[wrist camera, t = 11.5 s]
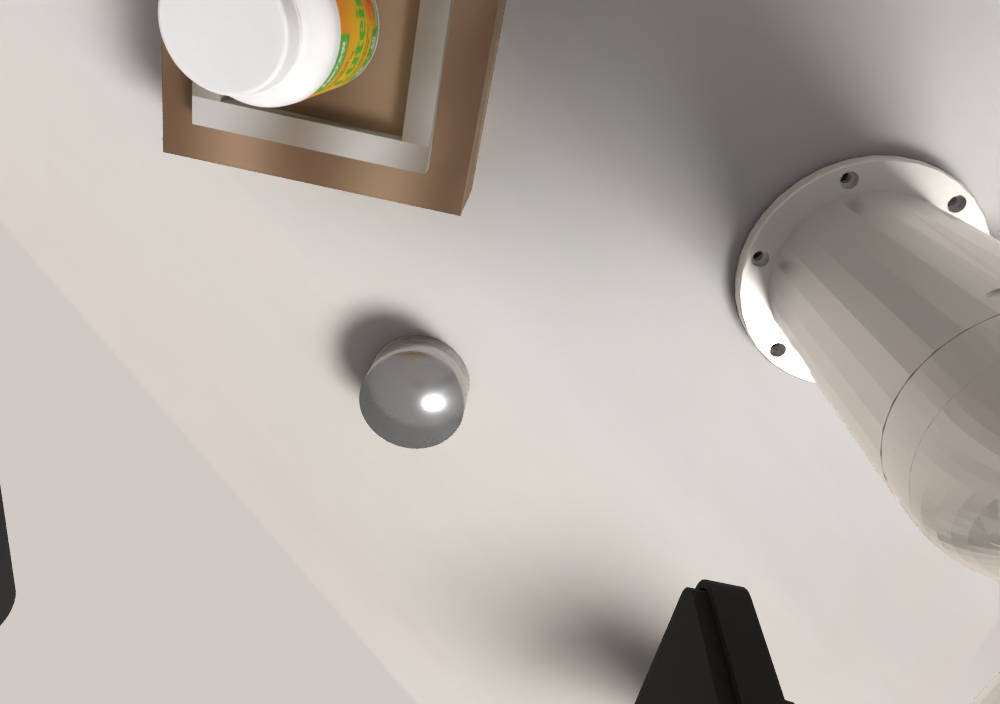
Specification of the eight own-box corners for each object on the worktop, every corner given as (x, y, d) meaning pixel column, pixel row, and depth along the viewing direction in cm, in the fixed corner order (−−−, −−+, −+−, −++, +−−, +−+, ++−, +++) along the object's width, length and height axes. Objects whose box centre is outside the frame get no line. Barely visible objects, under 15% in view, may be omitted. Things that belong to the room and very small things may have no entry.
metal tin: (477, 345, 42) (472, 369, 39) (460, 430, 45) (454, 457, 42) (377, 325, 42) (365, 347, 39) (366, 410, 44) (354, 437, 42)
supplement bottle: (376, 98, 31) (307, 135, 22) (254, 76, 31) (138, 104, 22) (387, -41, 29) (315, -60, 20) (256, -65, 29) (126, -94, 20)
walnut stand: (527, -118, 32) (522, -143, 26) (471, 190, 38) (457, 221, 32) (215, -189, 31) (144, -230, 26) (210, 134, 37) (152, 156, 32)
